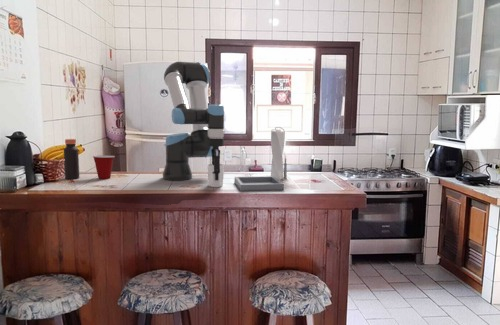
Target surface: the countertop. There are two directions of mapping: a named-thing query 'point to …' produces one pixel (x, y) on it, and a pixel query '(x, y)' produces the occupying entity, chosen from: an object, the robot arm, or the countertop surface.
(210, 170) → the white cup
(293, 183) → the countertop surface
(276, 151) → the skyscraper
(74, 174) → the bottle
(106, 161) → the plastic cup
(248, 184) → the slate tray
